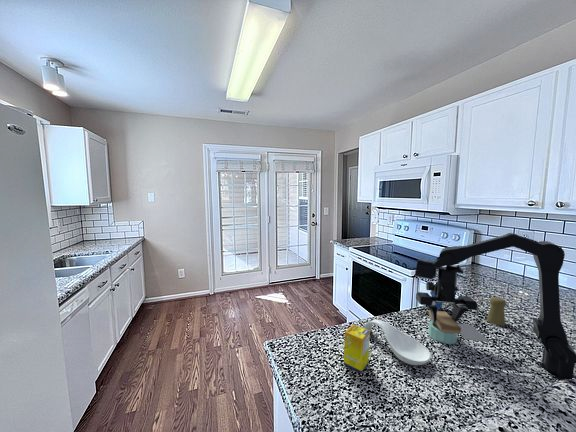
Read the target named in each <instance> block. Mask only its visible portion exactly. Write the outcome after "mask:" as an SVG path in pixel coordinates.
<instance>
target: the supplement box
mask: <svg viewBox="0 0 576 432" xmlns="http://www.w3.org/2000/svg"><path fill="white" fill-rule="evenodd" d="M370 336H371V332H370V330H367V329H364V328H363V327H361V326H358V325H356V324H352V325H351V326H349V327H348V328H347V329H346V330H345V331H344V346H343V347H344V348H343V365H344V366H345V367H346V368H347V367H348V368H349V369H352V370H354V371H355V372H357V373H360V374H362V373H363V372H364V370H365V369H366V368H367V366H368V364H369V361H370V338H371V337H370Z"/></svg>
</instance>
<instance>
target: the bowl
mask: <svg viewBox="0 0 576 432" xmlns="http://www.w3.org/2000/svg"><path fill="white" fill-rule="evenodd" d="M427 330H428V331H427V332H428V335H429V337H431V338H432V339H433V340H436V341H437V342H440V343H442V344H446V345H453V344H456V343H457V342H458V338H459V337H458V336H459V334H457V333H448V332H441V331H440V329H439V328H438V327H437V325H436V324H435V323H434V321H433V320H430V321H429V323H428V329H427Z"/></svg>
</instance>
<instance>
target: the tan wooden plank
mask: <svg viewBox="0 0 576 432" xmlns="http://www.w3.org/2000/svg"><path fill="white" fill-rule="evenodd" d="M428 316H429V318H430V319H431V321H433V318H432V315H431V311H430V309H429V310H428ZM434 323H435V324H436V325H437V327H438V328H439V329H440V331H441V332H448V333H457V334H458V335H461V334H460V333H461V327H460V326H459V325H458V324H457V322H455V321H454V320H453V319H452V316H451V315H450V314H449V313H447V311H445V310H444V311H442V310H437V318H436V322H434Z"/></svg>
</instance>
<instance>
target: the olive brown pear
mask: <svg viewBox="0 0 576 432" xmlns="http://www.w3.org/2000/svg"><path fill="white" fill-rule="evenodd" d="M489 303H490V307H489V311H488V315H487V318H486V321H487V322H488V323H490V324H492V325H495V326H499V327H505V326H506V319H505V317H506V316H505V308H506V307H507V302H506V300H505V299H504V298H501V297H497V296H496V297H495V296H492V297H490V299H489Z"/></svg>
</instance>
